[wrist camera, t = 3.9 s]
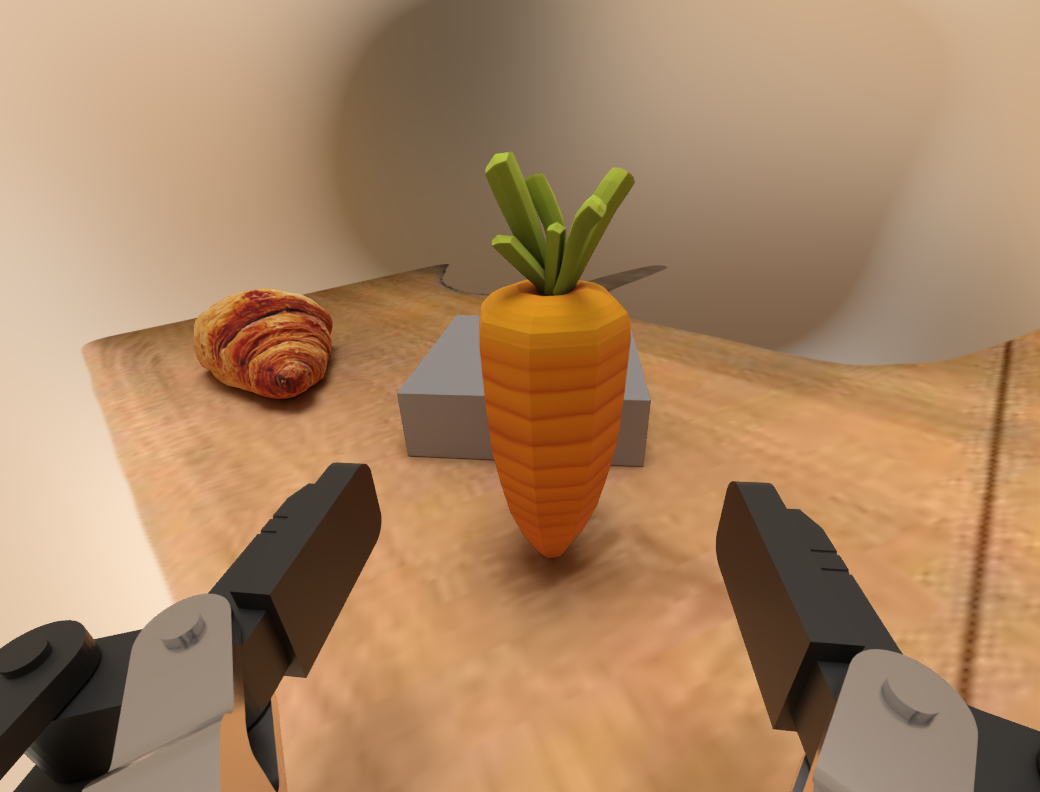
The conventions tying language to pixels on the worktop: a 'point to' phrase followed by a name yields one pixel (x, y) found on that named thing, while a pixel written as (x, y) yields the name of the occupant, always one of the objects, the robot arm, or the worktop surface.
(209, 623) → the robot arm
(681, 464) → the worktop surface
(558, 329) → the carrot
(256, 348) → the croissant
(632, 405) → the base block
